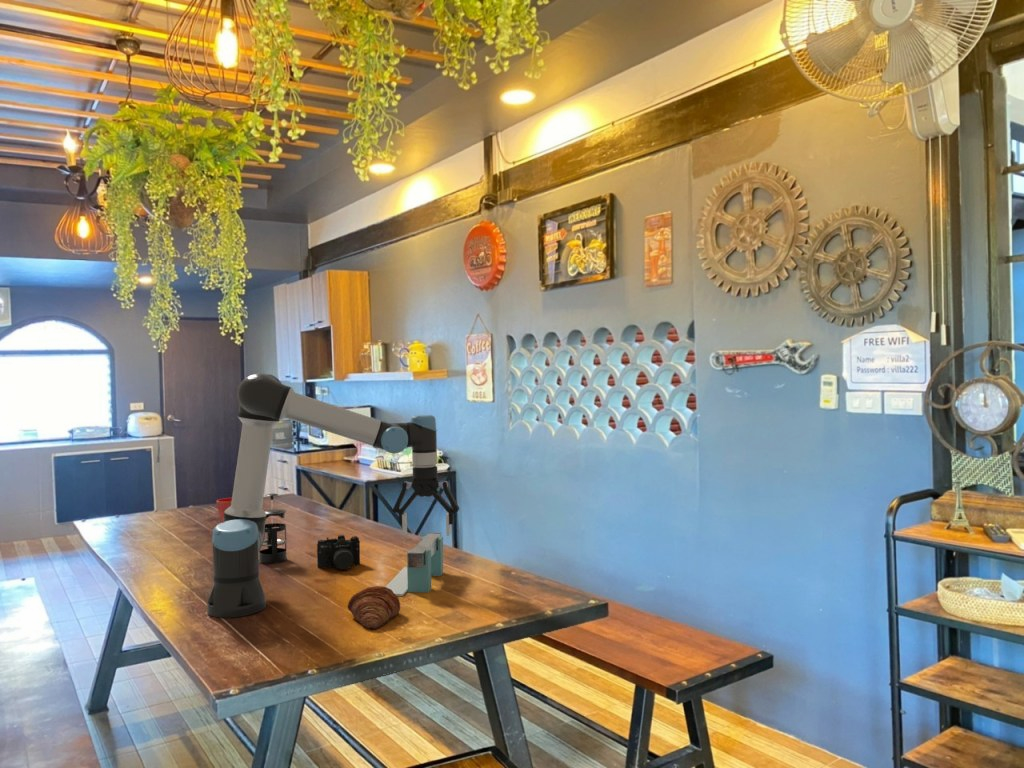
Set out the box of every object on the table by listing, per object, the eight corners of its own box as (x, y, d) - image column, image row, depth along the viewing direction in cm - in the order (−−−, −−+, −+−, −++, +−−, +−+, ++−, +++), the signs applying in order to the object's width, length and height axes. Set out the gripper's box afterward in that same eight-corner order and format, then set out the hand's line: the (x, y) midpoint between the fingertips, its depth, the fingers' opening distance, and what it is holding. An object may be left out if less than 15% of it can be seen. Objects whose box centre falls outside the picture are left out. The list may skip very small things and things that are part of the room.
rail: (422, 567, 216) (422, 553, 216) (408, 567, 216) (408, 553, 216) (441, 545, 244) (441, 533, 243) (429, 545, 244) (429, 532, 244)
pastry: (418, 616, 198) (418, 586, 198) (371, 632, 186) (371, 600, 186) (378, 604, 209) (378, 575, 209) (332, 618, 197) (331, 587, 197)
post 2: (440, 575, 237) (440, 539, 236) (421, 575, 237) (421, 539, 237) (443, 572, 241) (442, 536, 240) (424, 572, 241) (423, 536, 241)
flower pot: (211, 523, 325) (210, 500, 325) (227, 518, 335) (227, 496, 335) (232, 524, 322) (231, 502, 322) (248, 519, 332) (247, 497, 332)
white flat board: (402, 596, 215) (402, 594, 215) (379, 595, 216) (379, 593, 216) (425, 568, 245) (425, 566, 245) (404, 568, 246) (404, 566, 246)
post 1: (428, 592, 219) (428, 553, 218) (407, 592, 219) (407, 552, 219) (431, 588, 223) (430, 549, 222) (410, 588, 223) (410, 549, 223)
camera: (317, 573, 241) (317, 542, 241) (317, 565, 251) (316, 536, 251) (362, 570, 245) (361, 539, 245) (359, 562, 255) (358, 533, 255)
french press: (289, 562, 256) (288, 495, 255) (260, 565, 252) (259, 497, 251) (284, 554, 266) (283, 490, 266) (256, 558, 262) (255, 492, 262)
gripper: (467, 463, 232) (468, 532, 232) (388, 464, 234) (390, 532, 235) (463, 466, 224) (464, 537, 225) (381, 467, 227) (383, 537, 227)
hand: (426, 535), depth 230 cm, fingers open, 13 cm apart
